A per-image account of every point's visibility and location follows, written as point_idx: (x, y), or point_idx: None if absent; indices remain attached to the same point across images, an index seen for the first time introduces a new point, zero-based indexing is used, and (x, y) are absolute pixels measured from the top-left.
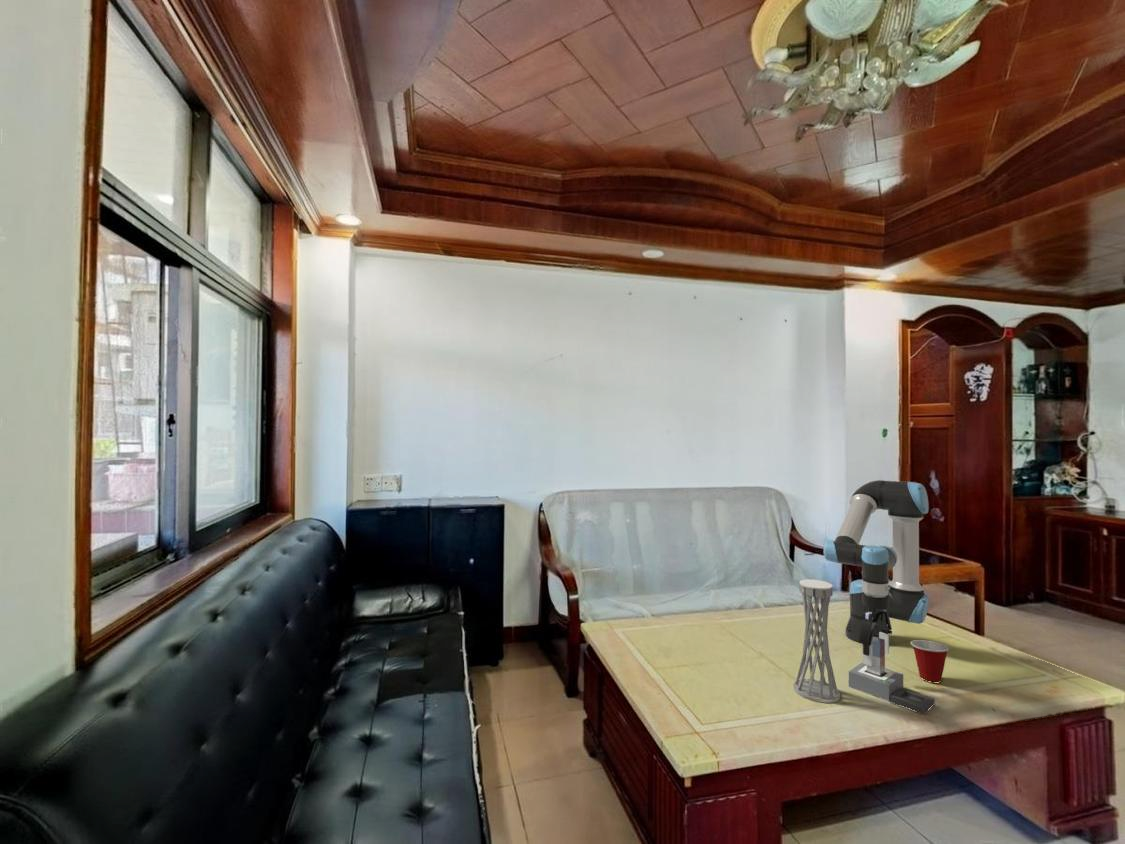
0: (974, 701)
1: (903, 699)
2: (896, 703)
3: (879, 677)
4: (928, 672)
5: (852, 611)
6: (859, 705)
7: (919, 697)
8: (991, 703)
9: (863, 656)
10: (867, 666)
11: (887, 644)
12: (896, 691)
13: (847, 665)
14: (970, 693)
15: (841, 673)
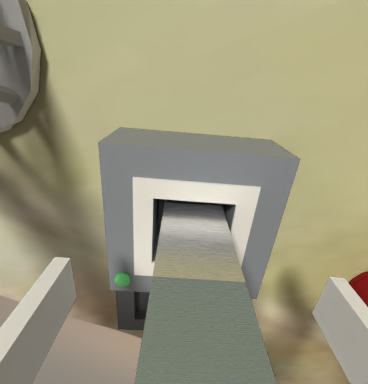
0: (285, 356)
1: (125, 293)
2: None
3: (145, 257)
4: None
5: None
6: (14, 199)
7: None
8: (296, 372)
9: (26, 302)
10: (161, 226)
11: (352, 379)
12: None
13: (354, 40)
14: (328, 349)
15: (231, 52)
